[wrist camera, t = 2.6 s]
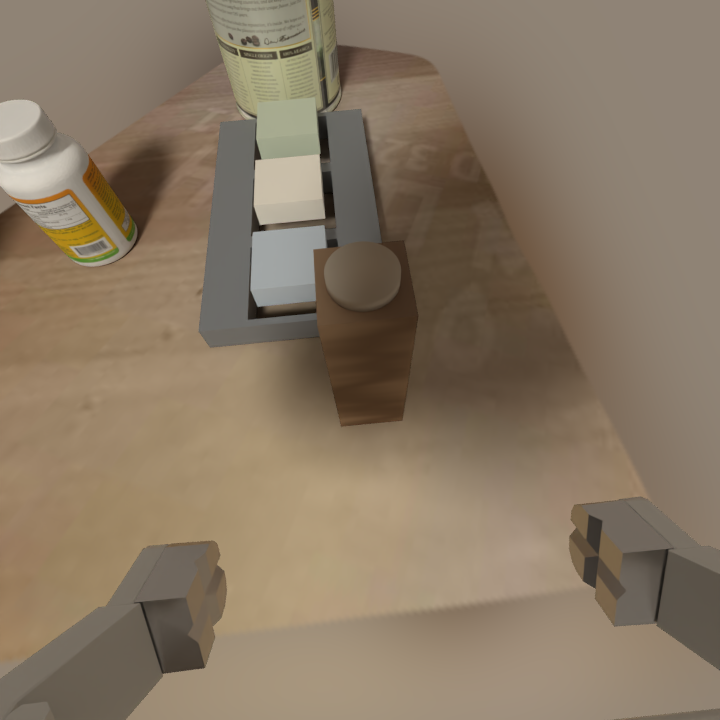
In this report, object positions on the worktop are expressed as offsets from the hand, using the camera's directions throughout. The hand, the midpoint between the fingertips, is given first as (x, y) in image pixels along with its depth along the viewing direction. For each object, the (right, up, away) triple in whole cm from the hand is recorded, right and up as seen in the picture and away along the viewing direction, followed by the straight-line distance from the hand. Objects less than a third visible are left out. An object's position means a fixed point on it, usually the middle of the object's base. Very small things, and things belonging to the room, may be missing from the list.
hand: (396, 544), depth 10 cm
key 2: (-6, +22, +24) cm, 33 cm away
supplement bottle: (-21, +13, +23) cm, 34 cm away
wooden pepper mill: (0, +2, +16) cm, 16 cm away
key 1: (-5, +10, +17) cm, 21 cm away
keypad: (-6, +15, +23) cm, 28 cm away
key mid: (-6, +16, +21) cm, 27 cm away
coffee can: (-8, +30, +31) cm, 43 cm away
